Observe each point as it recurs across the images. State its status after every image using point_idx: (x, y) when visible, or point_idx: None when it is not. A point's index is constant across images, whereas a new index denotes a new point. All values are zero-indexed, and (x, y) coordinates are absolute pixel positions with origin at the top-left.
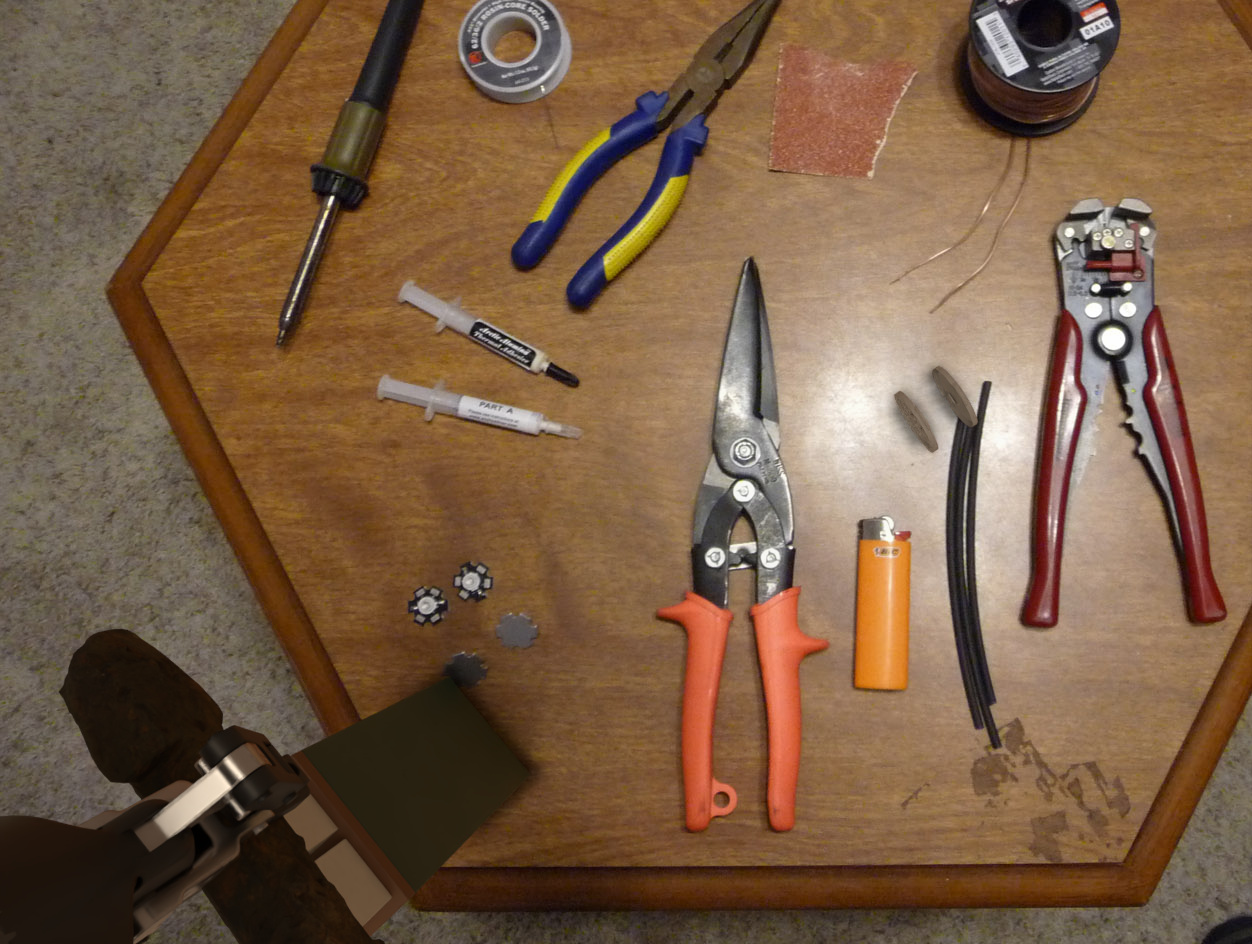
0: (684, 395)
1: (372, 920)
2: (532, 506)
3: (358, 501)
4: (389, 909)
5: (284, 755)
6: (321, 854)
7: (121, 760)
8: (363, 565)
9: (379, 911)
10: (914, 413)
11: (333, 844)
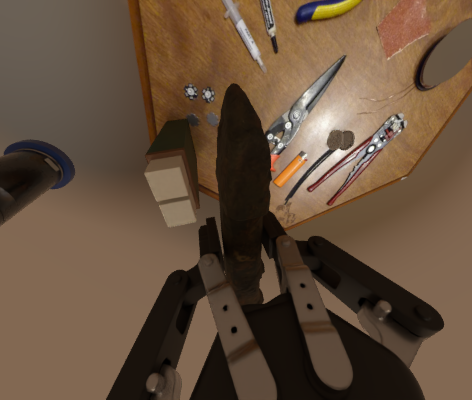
0: (297, 85)
1: None
2: (238, 84)
3: (183, 29)
4: None
5: (274, 215)
6: None
7: (243, 209)
8: (175, 59)
9: None
10: (341, 140)
11: None
